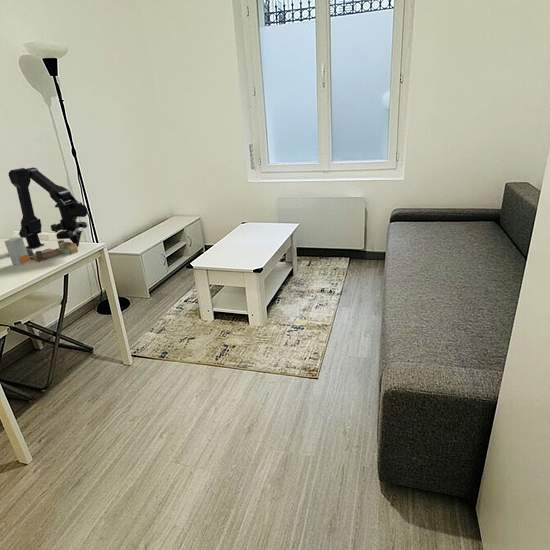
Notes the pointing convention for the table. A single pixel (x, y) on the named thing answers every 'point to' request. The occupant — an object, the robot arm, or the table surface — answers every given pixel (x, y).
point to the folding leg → (68, 246)
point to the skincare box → (17, 251)
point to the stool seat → (43, 254)
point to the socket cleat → (64, 251)
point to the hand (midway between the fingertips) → (77, 246)
